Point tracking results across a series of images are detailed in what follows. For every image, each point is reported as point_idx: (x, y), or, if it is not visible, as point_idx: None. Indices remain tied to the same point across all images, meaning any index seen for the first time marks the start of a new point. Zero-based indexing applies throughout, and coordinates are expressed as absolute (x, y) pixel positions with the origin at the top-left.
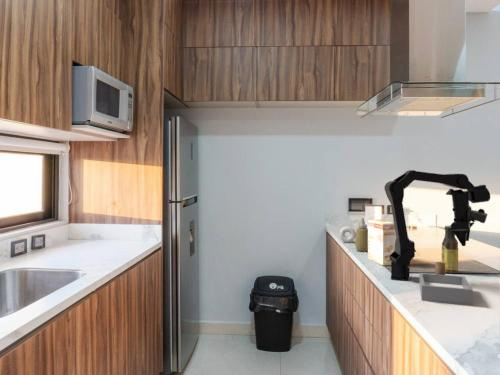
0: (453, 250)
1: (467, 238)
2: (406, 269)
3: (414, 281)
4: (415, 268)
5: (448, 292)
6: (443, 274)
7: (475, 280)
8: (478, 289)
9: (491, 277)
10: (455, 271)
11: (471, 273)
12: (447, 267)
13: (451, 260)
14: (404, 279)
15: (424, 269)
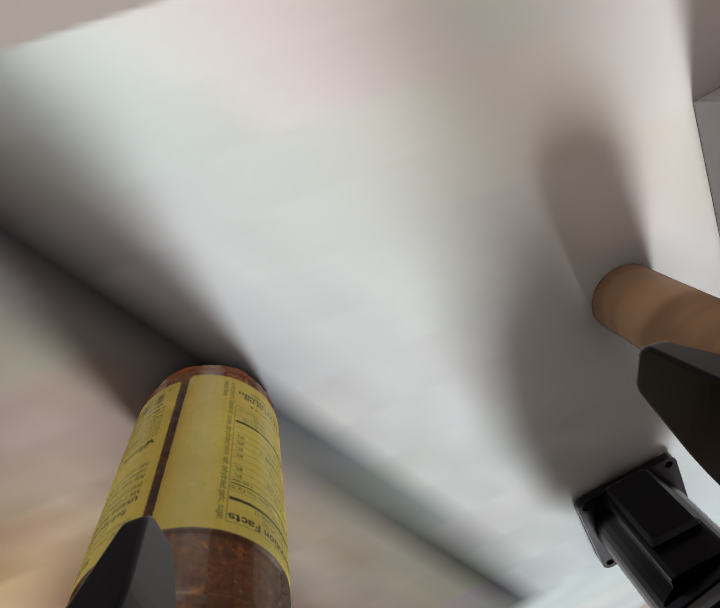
0: (252, 533)
1: (148, 580)
2: (701, 521)
3: (652, 425)
4: (315, 588)
5: None
6: (711, 295)
7: (327, 152)
8: (610, 20)
9: (71, 76)
10: (228, 371)
11: (91, 279)
12: (278, 433)
13: (265, 454)
14: (677, 469)
15: (293, 547)
